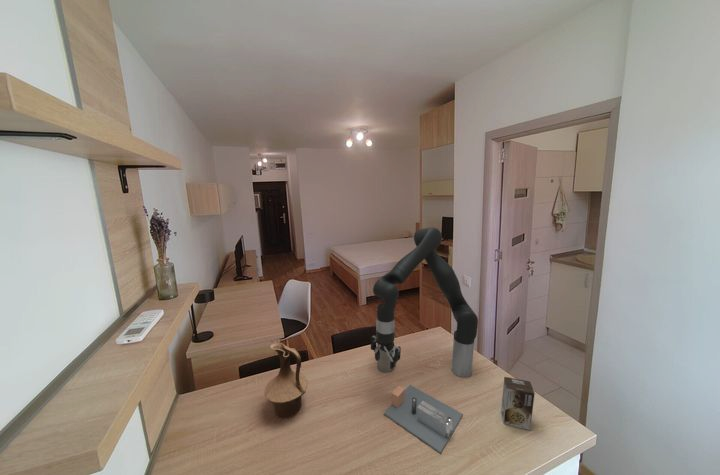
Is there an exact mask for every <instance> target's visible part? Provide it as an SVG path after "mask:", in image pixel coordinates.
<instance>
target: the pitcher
mask: <svg viewBox="0 0 720 475" xmlns="http://www.w3.org/2000/svg"><path fill="white" fill-rule="evenodd" d="M275 347H279V348H275ZM269 349H270V350H271V351H275V352H276V353H277V354H278V357H279V361H280V367H279V371H278V374H277V375H275V376H274V377H273V378H272V379H270V380H269V381H268V382H267V384H266V385H265V387H264V396H265V397H266V399H267V400H268V401H270V402H272V405H273V410H274V414H275V416H276V417H279V418H282V419H287V418H290V417H293V416H294V415H296V414H298V412H299V411H300V410H301V408H302V396H304V394H306V391H307V388H308V384H309V383H308V382H309V381H308V378H307V377H306V376H305V374H303V373H301V372H300V371H301V367H302V358H301V355H300V353H299V352H298V351H297V350H296V348H293V347H292V348H291V347H289V346H287V345H285V344H284V343H282V342H274V343H272V344H270V346H269ZM291 357H294V358H295V361H296V366H295V367H296V368H295V371H293V369H292V368H291V362H290V361H291Z"/></svg>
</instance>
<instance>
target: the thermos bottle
mask: <svg viewBox="0 0 720 475" xmlns="http://www.w3.org/2000/svg"><path fill="white" fill-rule="evenodd" d="M377 346H378V344H377V343H376V347H377ZM379 351H380V359H379V360H378V361H376V364H377V369H378V371H379V372H381V373H386V374H387V373H390V372H392V371H393V370H394V368H393V369H391V368H390V361H391V360H390V357H389V356H388V355H387V353H386V352H384V351H382V350H381V349H380V350H379ZM390 353H391V351H390ZM392 357H393V356H392Z"/></svg>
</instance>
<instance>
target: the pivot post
mask: <svg viewBox="0 0 720 475" xmlns="http://www.w3.org/2000/svg"><path fill="white" fill-rule="evenodd" d="M416 404H417V399H416V398H414V397H413V398H412V414H416Z"/></svg>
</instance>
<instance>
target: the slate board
mask: <svg viewBox="0 0 720 475" xmlns="http://www.w3.org/2000/svg"><path fill="white" fill-rule="evenodd" d="M404 389H405V400H404V402H403V403H402V404H401V405H400V406H399V407H398V408H396V407H395V406H393V405H392V404H391V405H389V407H388V408H387V409H386V410H385V411H384V412H383V415H384V416H385V417H386V418H388V419H389V420H390V421H393V423H395V424H397V425H398V426H400V427H401V428H402V429H404V430H405V431H407V432H409V434H411V435H412V436H413V437H415V438H417V439H418V440H419V441H421V442H422V443H424V444H425V445H427V446H428V447H430V448H431V449H432V450H434V451H436V452H437V453H438V454H440V455H442V452H443V450H444V449H445V447H446V445H447V444H448V442H449V440H450V438H451V437H452V435H453V433H454V432H455V430H456V428H457V426H458V425H459V423H460V421H461V419H462V417H463V415H464V414H463V412H460V411H458V410H456V409H455V408H453V407H451V406H449V405H447V404H446V403H444V402H442V401H440V400H438V399H436V398H435V397H433V396H431V395H430V394H428V393H426V392H424V391H422V390H420V389H419V388H417V387H415V386H413V385H412V384H409V385H408V386H406V388H404ZM413 397H414V398H416V399H417V404H416V414H412V398H413ZM422 401H424V402H426V403H428V404H429V405H431V406H433V407H434V408H436V409H438V410H439V411H441V412H443V413H444V414H446V415H448V416H449V417H451V418H452V419H453V421H452V433H451V434H450V435H449V438H445V437H444V436H442V435H440V434H439V433H437V432H436V431H434V430H433V429H431V428H429V427H428V426H426V425H425V424H423V423H421V422H420V421H418V420H417V407H418V406H419V405H420V403H421V402H422Z"/></svg>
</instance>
